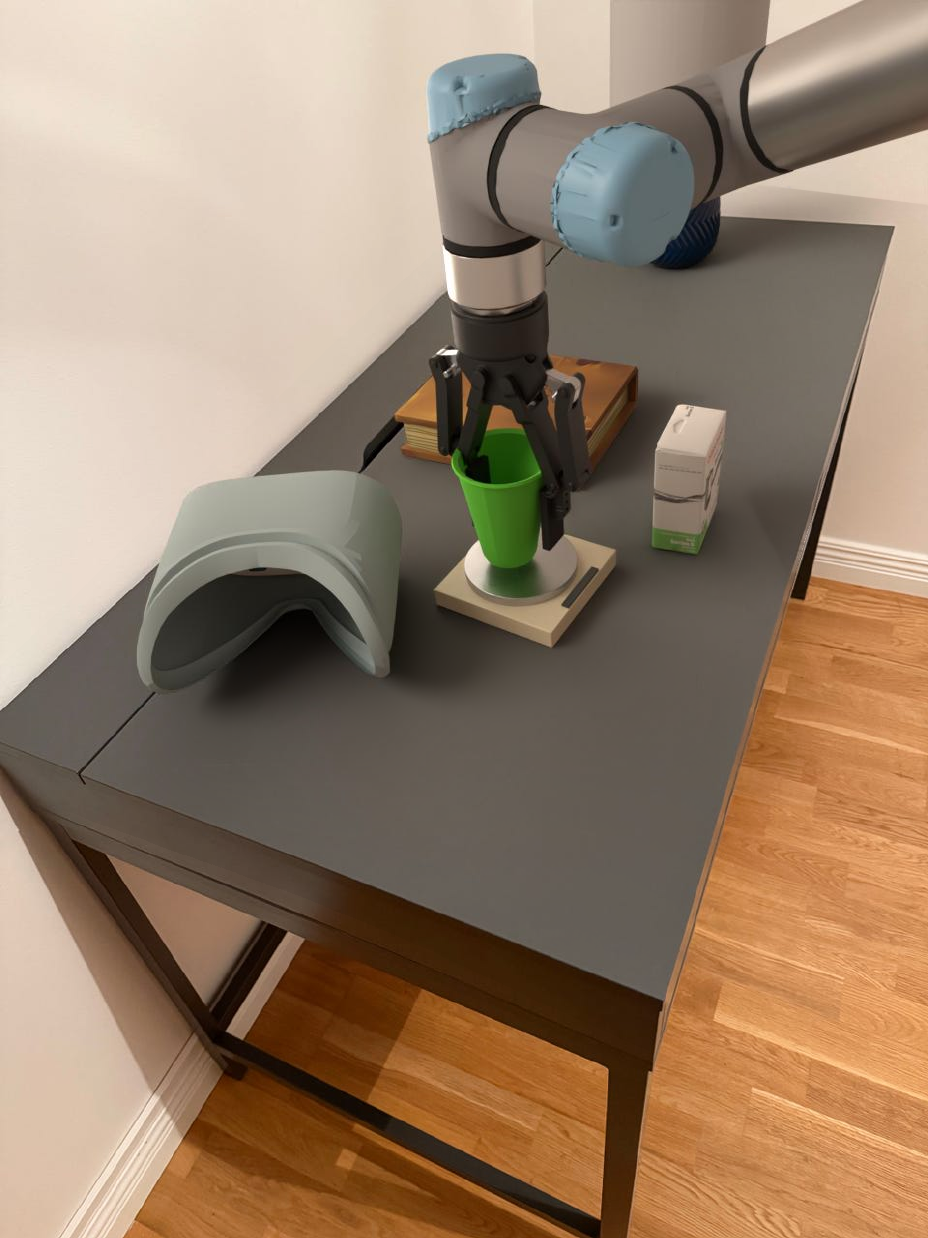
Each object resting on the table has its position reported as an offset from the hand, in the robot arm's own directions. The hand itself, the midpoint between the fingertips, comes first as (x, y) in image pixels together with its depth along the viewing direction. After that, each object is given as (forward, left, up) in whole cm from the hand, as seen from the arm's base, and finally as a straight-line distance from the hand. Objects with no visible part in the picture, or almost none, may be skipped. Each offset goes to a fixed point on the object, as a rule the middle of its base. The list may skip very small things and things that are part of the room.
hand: (517, 530), depth 84 cm
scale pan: (-1, 0, -5) cm, 5 cm away
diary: (+14, -24, -7) cm, 29 cm away
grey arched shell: (+15, +17, -7) cm, 24 cm away
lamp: (+17, -76, -7) cm, 78 cm away
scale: (-1, 0, -7) cm, 7 cm away
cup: (+1, 0, -3) cm, 3 cm away
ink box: (-11, -15, -7) cm, 20 cm away
